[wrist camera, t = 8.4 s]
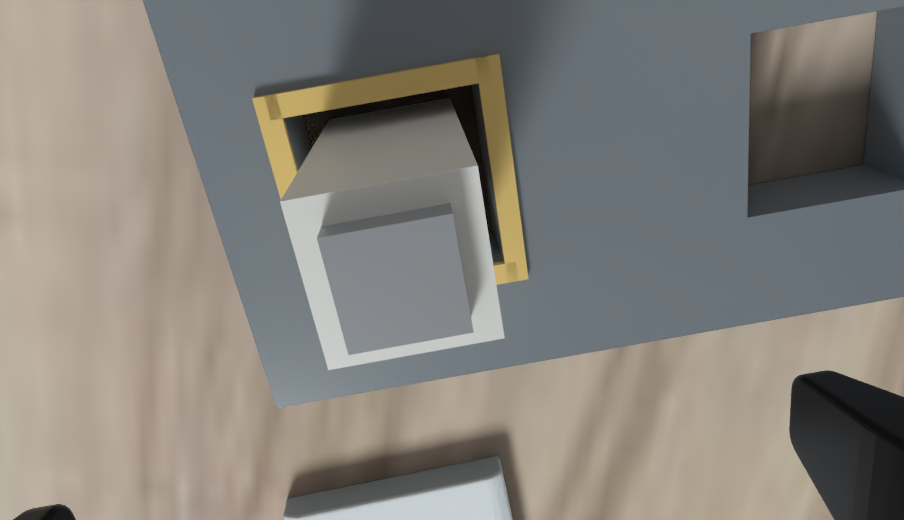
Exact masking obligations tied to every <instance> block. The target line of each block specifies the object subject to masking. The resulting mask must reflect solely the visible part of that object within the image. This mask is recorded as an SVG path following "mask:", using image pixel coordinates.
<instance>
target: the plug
mask: <svg viewBox="0 0 904 520" xmlns="http://www.w3.org/2000/svg"><path fill="white" fill-rule="evenodd" d="M280 204H281V207H282V211H283V214H284V218H285V221H286V225H287V228H288V232H289V235H290V239H291V242H292V246H293V249H294V253H295V256H296V260H297V263H298V266H299V270H300V273H301V277H302V280H303V284H304V287H305V291H306V294H307V298H308V301H309V305H310V308H311V312H312V315H313V319H314V322H315V326H316V329H317V333H318V336H319V339H320V343H321V346H322V350H323V353H324V357H325V360H326V364H327V367H328V370H333V369H338V368H344V367H349V366H355V365H360V364H366V363H371V362H377V361H382V360H388V359H393V358H399V357H404V356H410V355H416V354H421V353H427V352H432V351H438V350H443V349H449V348H454V347H460V346H465V345H471V344H476V343H482V342H487V341H493V340H498V339H504V338H505V337H504V330H503V324H502V317H501V311H500V305H499V298H498V292H497V285H496V279H495V273H494V266H493V260H492V253H491V247H490V240H489V234H488V228H487V221H486V215H485V208H484V202H483V196H482V189H481V183H480V176H479V170H478V165H477V162H476V160H475V158H474V155H473V153H472V150H471V148H470V145H469V143H468V141H467V138H466V136H465V133H464V131H463V129H462V126H461V124H460V121H459V119H458V116H457V114H456V112H455V109H454V107H453V104H452V102H451V100H450V98H444V99H439V100H434V101H428V102H423V103H417V104H412V105H406V106H401V107H395V108H390V109H384V110H379V111H373V112H368V113H362V114H357V115H351V116H346V117H340V118H335V119H329V121H328V122H327V124H326V126H325V127H324V129H323V131H322V132H321V134H320V136H319V137H318V139H317V141H316V142H315V144H314V146H313V147H312V149H311V151H310V152H309V154H308V156H307V157H306V159H305V161H304V162H303V164H302V166H301V167H300V169H299V171H298V172H297V174H296V176H295V177H294V179H293V181H292V182H291V184H290V186H289V187H288V189H287V191H286V192H285V194H284V196H283V197H282V199H281V201H280Z"/></svg>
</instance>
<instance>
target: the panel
mask: <svg viewBox="0 0 904 520" xmlns="http://www.w3.org/2000/svg"><path fill="white" fill-rule="evenodd" d="M143 3H144V6H145V9H146V12H147V15H148V18H149V21H150V24H151V27H152V30H153V33H154V36H155V39H156V42H157V45H158V48H159V52H160V55H161V58H162V61H163V64H164V67H165V70H166V73H167V76H168V79H169V82H170V85H171V88H172V91H173V94H174V97H175V100H176V103H177V106H178V109H179V112H180V115H181V118H182V121H183V124H184V127H185V130H186V133H187V137H188V140H189V143H190V146H191V149H192V152H193V155H194V158H195V161H196V164H197V167H198V170H199V173H200V176H201V179H202V182H203V185H204V188H205V191H206V194H207V197H208V200H209V203H210V206H211V209H212V212H213V215H214V218H215V222H216V225H217V228H218V231H219V234H220V237H221V240H222V243H223V246H224V249H225V252H226V255H227V258H228V261H229V264H230V267H231V270H232V273H233V276H234V279H235V282H236V285H237V288H238V291H239V294H240V297H241V300H242V303H243V307H244V310H245V313H246V316H247V319H248V322H249V325H250V328H251V331H252V334H253V337H254V340H255V343H256V346H257V349H258V352H259V355H260V358H261V361H262V364H263V367H264V370H265V373H266V376H267V379H268V382H269V385H270V388H271V391H272V395H273V398H274V401H275V404H276V407H277V408H279V407H285V406H291V405H296V404H302V403H308V402H313V401H319V400H325V399H330V398H336V397H341V396H347V395H353V394H358V393H364V392H370V391H375V390H381V389H387V388H392V387H398V386H403V385H409V384H415V383H420V382H426V381H432V380H437V379H443V378H449V377H454V376H460V375H465V374H471V373H477V372H482V371H488V370H494V369H499V368H505V367H510V366H516V365H522V364H527V363H533V362H539V361H544V360H550V359H556V358H561V357H567V356H572V355H578V354H584V353H589V352H595V351H601V350H606V349H612V348H618V347H623V346H629V345H634V344H640V343H646V342H651V341H657V340H663V339H668V338H674V337H680V336H685V335H691V334H696V333H702V332H708V331H713V330H719V329H725V328H730V327H736V326H742V325H747V324H753V323H758V322H764V321H770V320H775V319H781V318H787V317H792V316H798V315H804V314H809V313H815V312H820V311H826V310H832V309H837V308H843V307H849V306H854V305H860V304H865V303H871V302H877V301H882V300H888V299H894V298H899V297H904V0H143ZM874 11H877V22H876V33H875V44H874V55H873V66H872V77H871V88H870V99H869V109H868V120H867V131H866V142H865V153H864V164H863V165H860V166H854V167H848V168H843V169H837V170H832V171H826V172H820V173H815V174H809V175H804V176H798V177H792V178H787V179H781V180H775V181H770V182H764V183H759V184H753V185H748V154H749V102H750V49H751V33H756V32H762V31H768V30H773V29H779V28H784V27H790V26H796V25H801V24H807V23H812V22H818V21H824V20H829V19H835V18H840V17H846V16H852V15H857V14H863V13H868V12H874ZM466 85H471V86H472V93H473V100H474V107H475V113H476V120H477V127H478V134H479V140H480V147H481V154H482V160H483V167H484V174H485V181H486V187H487V194H488V201H489V208H490V214H491V221H492V228H493V231H489V232H488V234H489V240H490V247H491V253H492V260H493V266H494V273H495V279H496V285H497V292H498V298H499V305H500V311H501V317H502V324H503V330H504V337H505V338H504V339H498V340H493V341H487V342H482V343H476V344H471V345H465V346H460V347H454V348H449V349H443V350H438V351H432V352H427V353H421V354H416V355H410V356H404V357H399V358H393V359H388V360H382V361H377V362H371V363H366V364H360V365H355V366H349V367H344V368H338V369H333V370H328V367H327V364H326V360H325V357H324V353H323V350H322V346H321V343H320V339H319V336H318V333H317V329H316V326H315V322H314V319H313V315H312V312H311V308H310V305H309V301H308V298H307V294H306V291H305V287H304V284H303V280H302V277H301V273H300V270H299V266H298V263H297V260H296V256H295V253H294V249H293V246H292V242H291V239H290V235H289V232H288V228H287V225H286V221H285V218H284V214H283V211H282V207H281V204H280V201H281V199H282V197H283V196H284V194H285V192H286V191H287V189H288V187H289V186H290V184H291V182H292V181H293V179H294V177H295V176H296V174H297V172H298V171H299V169H300V167H301V166H302V164H303V162H304V161H305V159H306V157H307V156H308V154H309V152H310V151H311V147H310V143H309V139H308V135H307V131H306V127H305V123H304V119H303V115H304V114H309V113H315V112H321V111H326V110H332V109H337V108H343V107H349V106H354V105H360V104H365V103H371V102H377V101H382V100H388V99H393V98H399V97H405V96H410V95H416V94H421V93H427V92H433V91H438V90H444V89H449V88H455V87H461V86H466Z"/></svg>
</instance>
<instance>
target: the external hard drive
mask: <svg viewBox="0 0 904 520" xmlns="http://www.w3.org/2000/svg"><path fill="white" fill-rule="evenodd" d="M284 520H513V518H512V513H511V508H510V504H509V499H508V494H507V489H506V485H505V480H504V476H503V471H502V466H501V462H500V458H499V456H495V457H489V458H485V459H480V460H475V461H470V462H465V463H460V464H456V465H451V466H446V467H441V468H436V469H431V470H426V471H421V472H416V473H411V474H406V475H402V476H397V477H392V478H387V479H382V480H377V481H372V482H367V483H362V484H357V485H352V486H347V487H342V488H338V489H333V490H328V491H323V492H318V493H313V494H308V495H303V496H297V497H292V498H288V499H287V501H286V507H285V511H284Z"/></svg>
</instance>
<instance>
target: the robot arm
mask: <svg viewBox="0 0 904 520" xmlns="http://www.w3.org/2000/svg"><path fill="white" fill-rule="evenodd" d="M789 431H790V438H791V442H792V445H793V447H794V449H795V451H796V453H797V455H798V457H799V459H800V460H801V462H802V464H803V466H804V467H805V469H806V471H807V473H808V474H809V476H810V478H811V480H812V481H813V483H814V485H815V487H816V488H817V490H818V492H819V494H820V495H821V497H822V499H823V501H824V502H825V504H826V506H827V508H828V510H829V511H830V513H831V515H832V517H833V518H834V520H904V397H902V396H899V395H896V394H894V393H891V392H888V391H886V390H883V389H880V388H877V387H875V386H872V385H869V384H867V383H864V382H861V381H858V380H856V379H853V378H850V377H848V376H845V375H842V374H839V373H837V372H834V371H820V372H815V373H809V374H803V375H799V376H798V377H796V378H795V379H794V381H793V383H792V390H791V408H790V426H789ZM13 520H76V519H75V517H74V515H73V513H72V512H71V510H70V509H69V508H68V507H66V506H65V505H61V504H56V505H50V506H44V507H38V508H33V509H30V510H27V511H25V512H23V513H22V514H20V515H19V516H18V517H16V518H15V519H13Z"/></svg>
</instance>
